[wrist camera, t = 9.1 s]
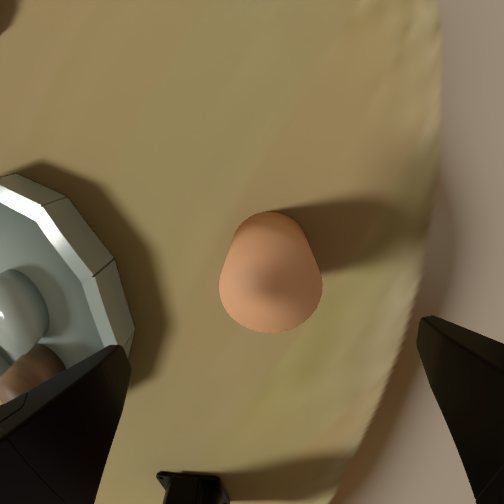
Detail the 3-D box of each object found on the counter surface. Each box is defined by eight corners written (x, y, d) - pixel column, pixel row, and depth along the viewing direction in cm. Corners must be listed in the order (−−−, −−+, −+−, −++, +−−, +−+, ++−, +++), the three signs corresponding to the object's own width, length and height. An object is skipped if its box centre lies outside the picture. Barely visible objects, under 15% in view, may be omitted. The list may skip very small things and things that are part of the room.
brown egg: (309, 279, 17) (323, 327, 13) (237, 286, 18) (227, 336, 13) (304, 207, 16) (319, 234, 11) (226, 216, 16) (211, 245, 12)
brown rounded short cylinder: (75, 386, 20) (47, 428, 16) (41, 381, 21) (12, 418, 16) (55, 344, 19) (19, 385, 14) (21, 342, 19) (-14, 377, 15)
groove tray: (162, 401, 21) (151, 432, 18) (8, 381, 23) (-8, 400, 20) (92, 147, 15) (60, 150, 12) (-57, 206, 17) (-82, 216, 14)
